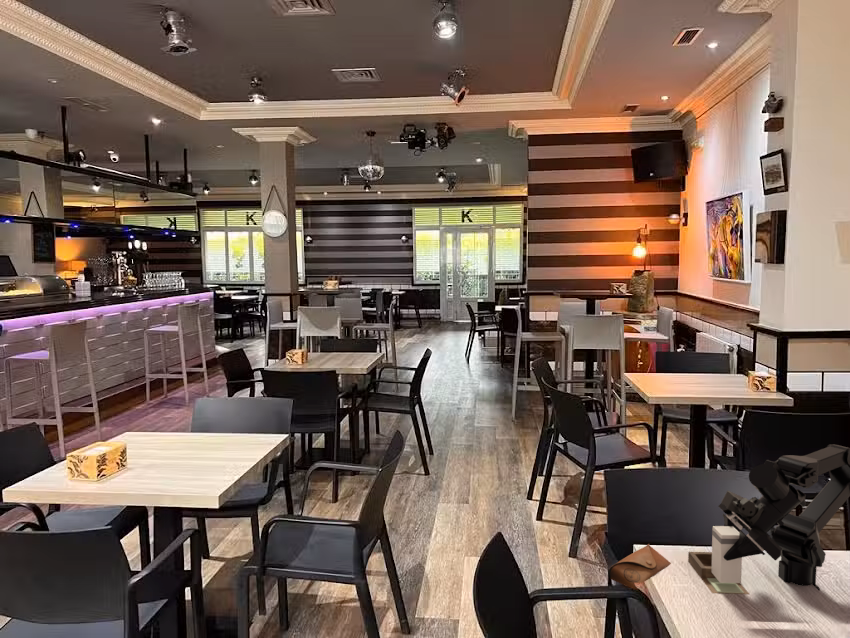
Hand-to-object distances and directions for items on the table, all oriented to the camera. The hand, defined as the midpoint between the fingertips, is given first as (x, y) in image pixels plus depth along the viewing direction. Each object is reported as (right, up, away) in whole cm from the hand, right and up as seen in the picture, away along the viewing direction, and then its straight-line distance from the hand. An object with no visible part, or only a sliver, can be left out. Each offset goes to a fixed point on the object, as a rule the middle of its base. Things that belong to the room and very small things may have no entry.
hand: (720, 553), depth 132 cm
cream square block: (+1, -6, 0) cm, 6 cm away
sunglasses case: (-14, -9, +9) cm, 19 cm away
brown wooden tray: (+2, -8, +5) cm, 10 cm away
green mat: (+1, -9, +1) cm, 9 cm away
